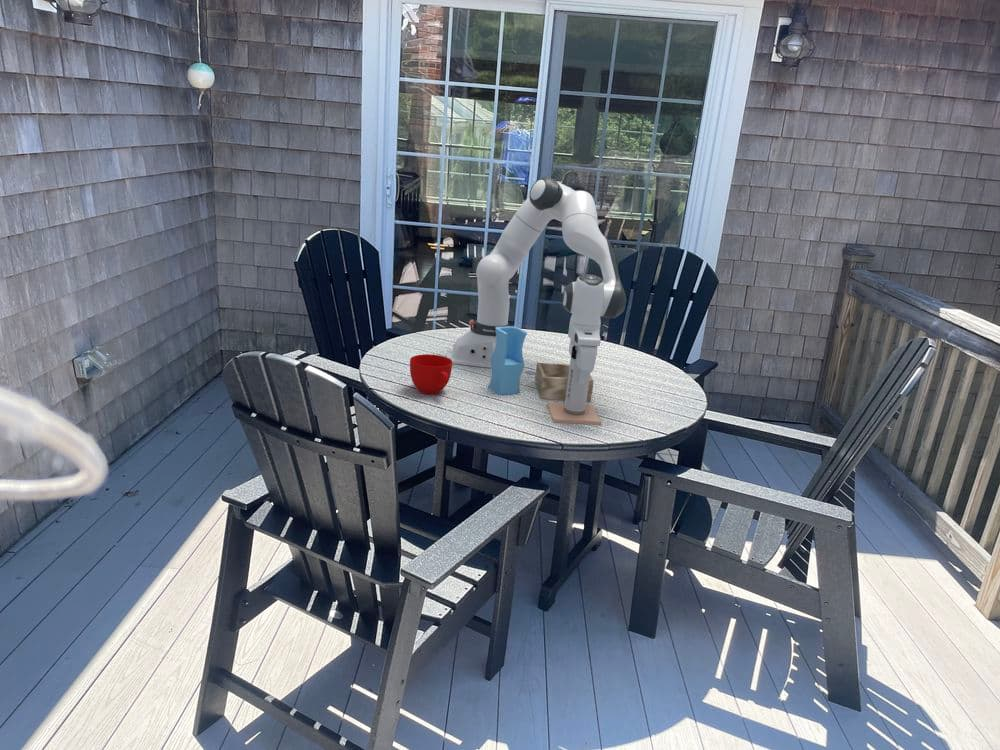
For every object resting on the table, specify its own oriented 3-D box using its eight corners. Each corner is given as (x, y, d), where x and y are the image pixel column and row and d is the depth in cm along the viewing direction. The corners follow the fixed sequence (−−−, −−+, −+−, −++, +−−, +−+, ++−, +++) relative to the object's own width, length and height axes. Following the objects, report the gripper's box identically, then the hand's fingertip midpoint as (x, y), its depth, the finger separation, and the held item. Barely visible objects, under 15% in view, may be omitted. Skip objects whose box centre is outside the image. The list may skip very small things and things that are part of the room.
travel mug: (583, 408, 219) (592, 344, 213) (585, 416, 213) (594, 350, 207) (563, 406, 219) (571, 342, 213) (564, 414, 213) (573, 348, 207)
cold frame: (540, 398, 227) (543, 377, 225) (534, 382, 242) (536, 362, 240) (590, 401, 229) (593, 380, 227) (581, 385, 244) (584, 365, 242)
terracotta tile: (553, 422, 208) (553, 419, 208) (546, 405, 222) (547, 402, 221) (601, 425, 210) (601, 421, 209) (591, 408, 223) (592, 404, 223)
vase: (499, 395, 227) (505, 333, 221) (488, 387, 233) (493, 326, 227) (521, 393, 230) (527, 332, 224) (509, 385, 237) (515, 326, 231)
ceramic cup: (425, 404, 213) (427, 372, 210) (401, 386, 226) (402, 355, 223) (464, 400, 219) (466, 368, 216) (438, 382, 233) (440, 352, 230)
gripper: (567, 322, 217) (561, 366, 222) (579, 340, 198) (573, 388, 202) (587, 324, 218) (582, 368, 222) (602, 342, 199) (595, 389, 203)
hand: (578, 377), depth 212 cm, fingers open, 8 cm apart
